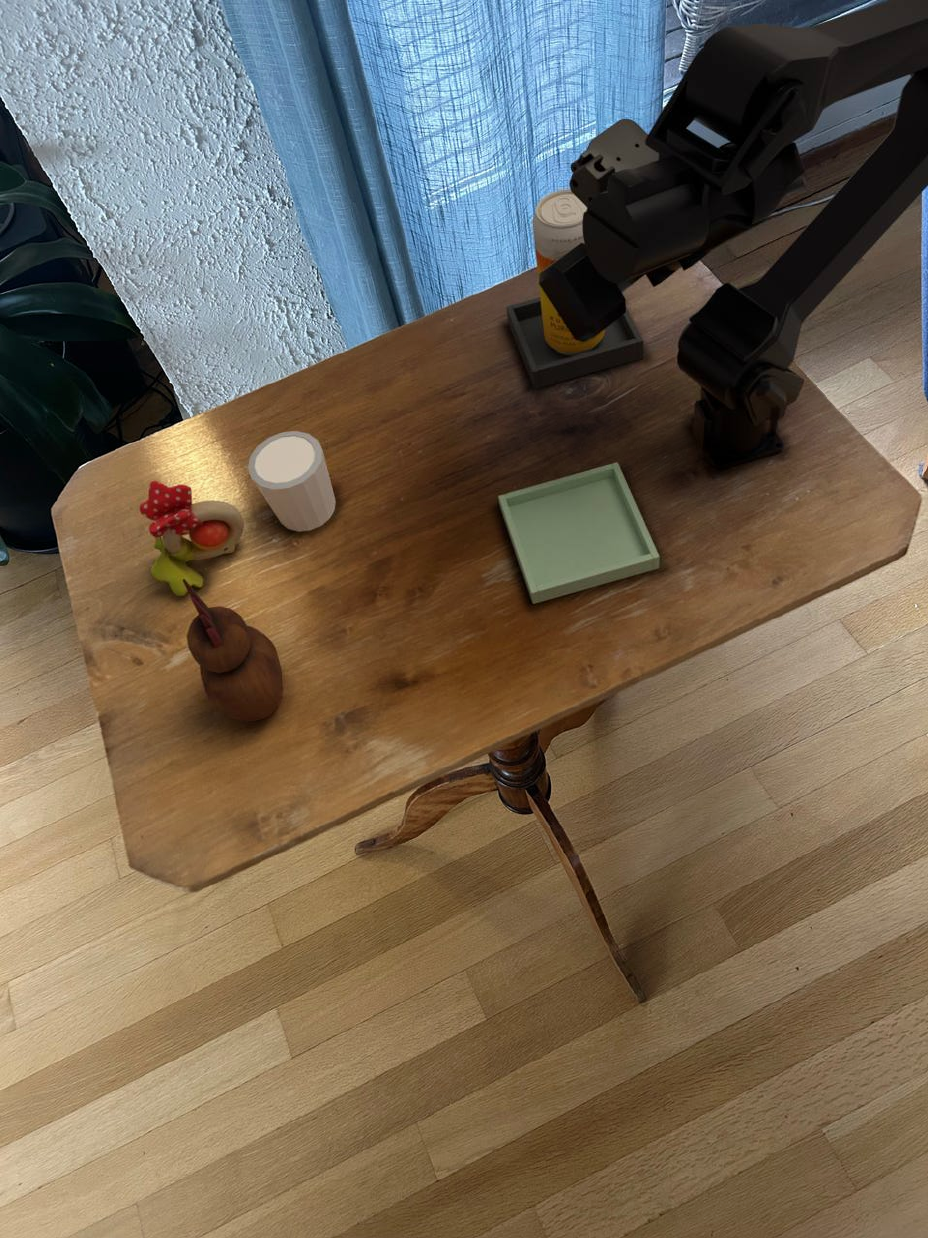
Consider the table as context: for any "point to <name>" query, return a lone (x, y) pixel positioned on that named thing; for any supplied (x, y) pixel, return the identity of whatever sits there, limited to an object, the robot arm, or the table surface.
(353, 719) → the table surface
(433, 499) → the table surface
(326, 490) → the white cup
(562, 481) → the sage tray
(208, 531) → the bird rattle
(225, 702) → the wooden figurine
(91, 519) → the table surface
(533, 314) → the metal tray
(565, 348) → the beer can
